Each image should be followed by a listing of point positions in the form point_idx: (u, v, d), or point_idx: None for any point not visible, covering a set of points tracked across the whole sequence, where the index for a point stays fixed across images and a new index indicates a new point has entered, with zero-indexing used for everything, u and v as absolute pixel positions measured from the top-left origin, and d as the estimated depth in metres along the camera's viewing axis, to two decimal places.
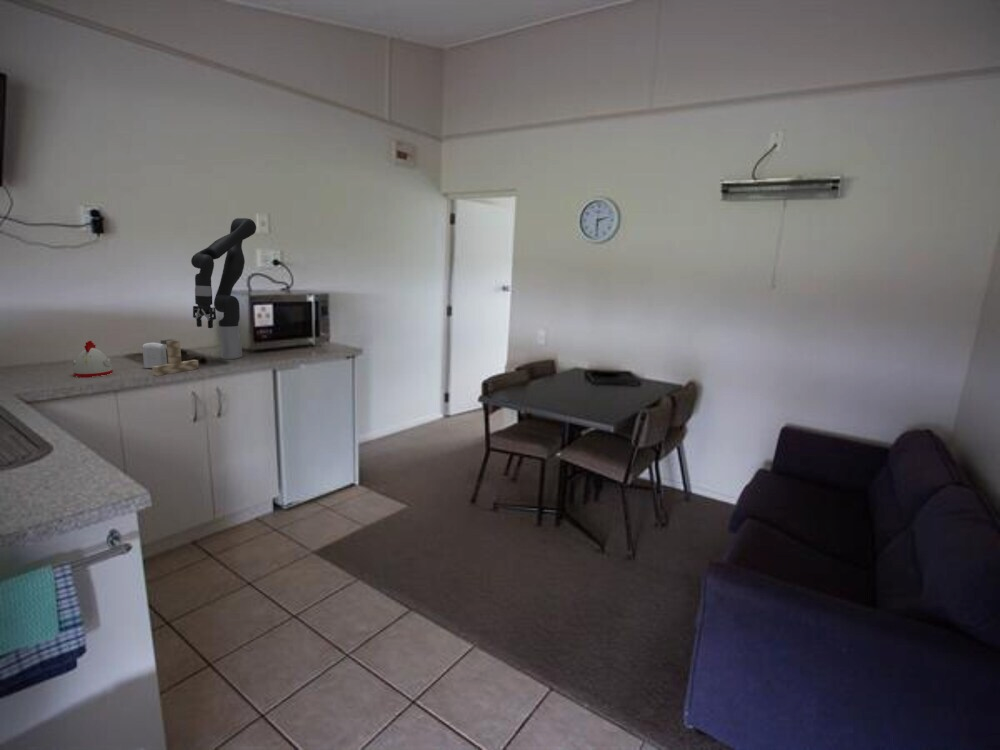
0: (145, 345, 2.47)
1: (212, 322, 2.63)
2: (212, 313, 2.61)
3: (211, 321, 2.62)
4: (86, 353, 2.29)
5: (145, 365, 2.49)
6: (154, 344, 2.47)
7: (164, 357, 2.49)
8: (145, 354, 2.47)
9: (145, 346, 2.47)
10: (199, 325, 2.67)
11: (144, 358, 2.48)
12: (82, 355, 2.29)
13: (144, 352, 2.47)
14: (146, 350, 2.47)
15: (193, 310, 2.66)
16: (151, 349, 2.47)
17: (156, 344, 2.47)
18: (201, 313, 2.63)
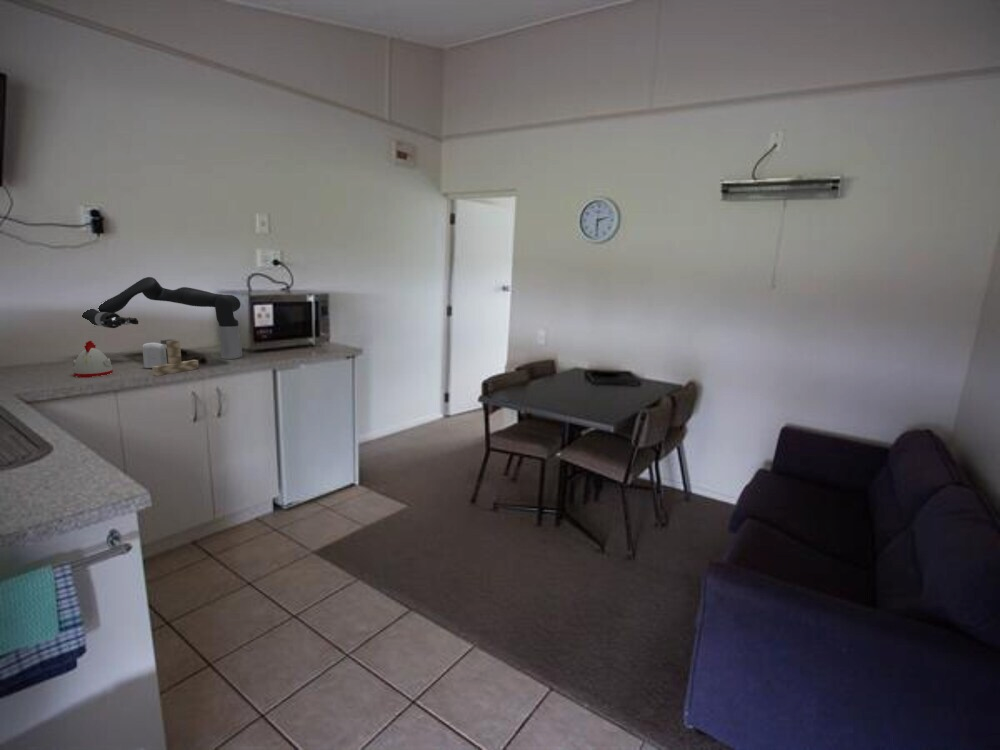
0: (145, 345, 2.47)
1: (114, 322, 2.49)
2: (104, 323, 2.50)
3: (113, 323, 2.50)
4: (86, 353, 2.29)
5: (145, 365, 2.49)
6: (154, 344, 2.47)
7: (164, 357, 2.49)
8: (145, 354, 2.47)
9: (145, 346, 2.47)
10: (135, 322, 2.56)
11: (144, 358, 2.48)
12: (82, 355, 2.29)
13: (144, 352, 2.47)
14: (146, 350, 2.47)
15: None
16: (151, 349, 2.47)
17: (156, 344, 2.47)
18: (120, 323, 2.56)
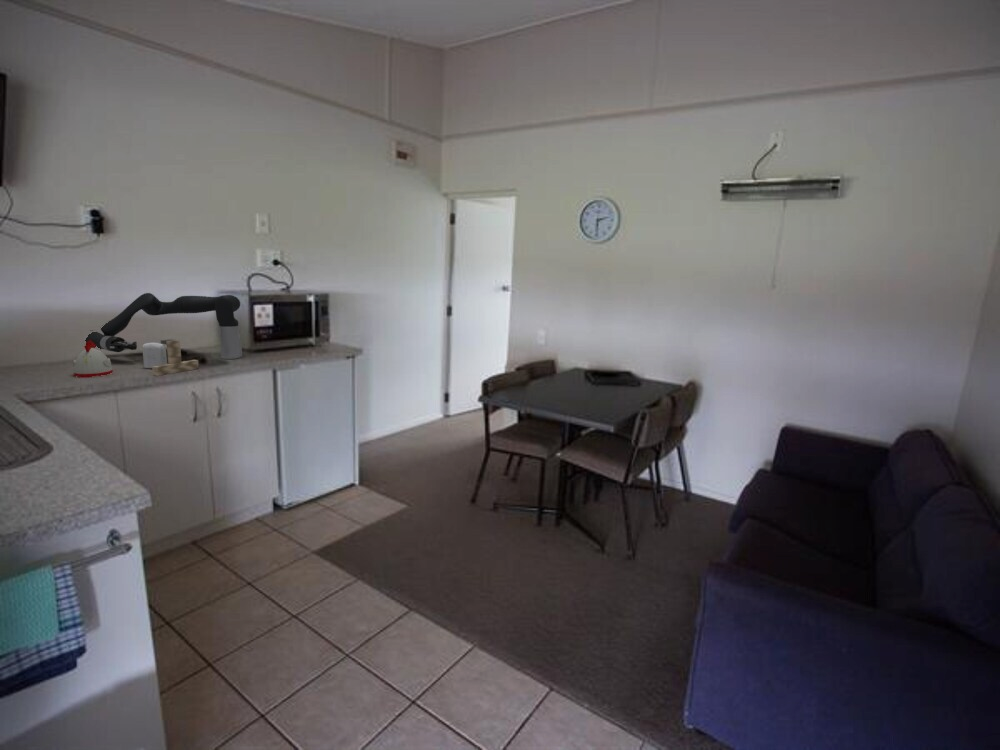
0: (145, 345, 2.47)
1: (127, 346, 2.54)
2: (116, 348, 2.53)
3: (127, 347, 2.55)
4: (86, 353, 2.29)
5: (145, 365, 2.49)
6: (154, 344, 2.47)
7: (164, 357, 2.49)
8: (145, 354, 2.47)
9: (145, 346, 2.47)
10: None
11: (144, 358, 2.48)
12: (82, 355, 2.29)
13: (144, 352, 2.47)
14: (146, 350, 2.47)
15: None
16: (151, 349, 2.47)
17: (156, 344, 2.47)
18: None
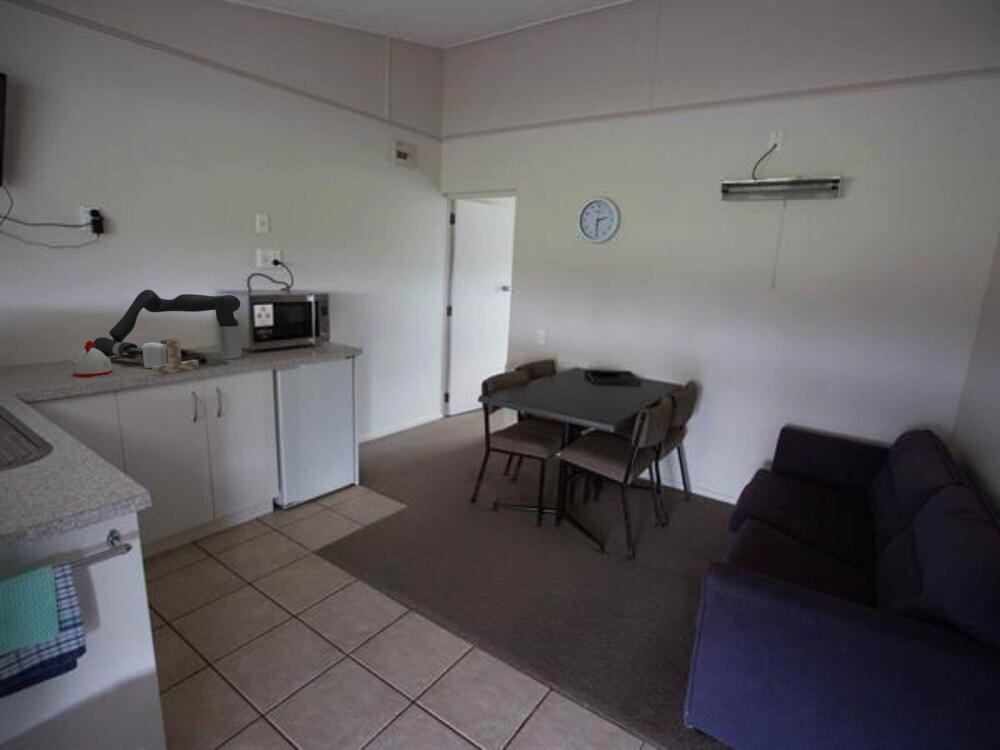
0: (145, 345, 2.47)
1: (141, 352, 2.51)
2: (129, 354, 2.50)
3: (140, 353, 2.51)
4: (86, 353, 2.29)
5: (145, 365, 2.49)
6: (154, 344, 2.47)
7: (164, 357, 2.49)
8: (145, 354, 2.47)
9: (145, 346, 2.47)
10: None
11: (144, 358, 2.48)
12: (82, 355, 2.29)
13: (144, 352, 2.47)
14: (146, 350, 2.47)
15: None
16: (151, 349, 2.47)
17: (156, 344, 2.47)
18: None
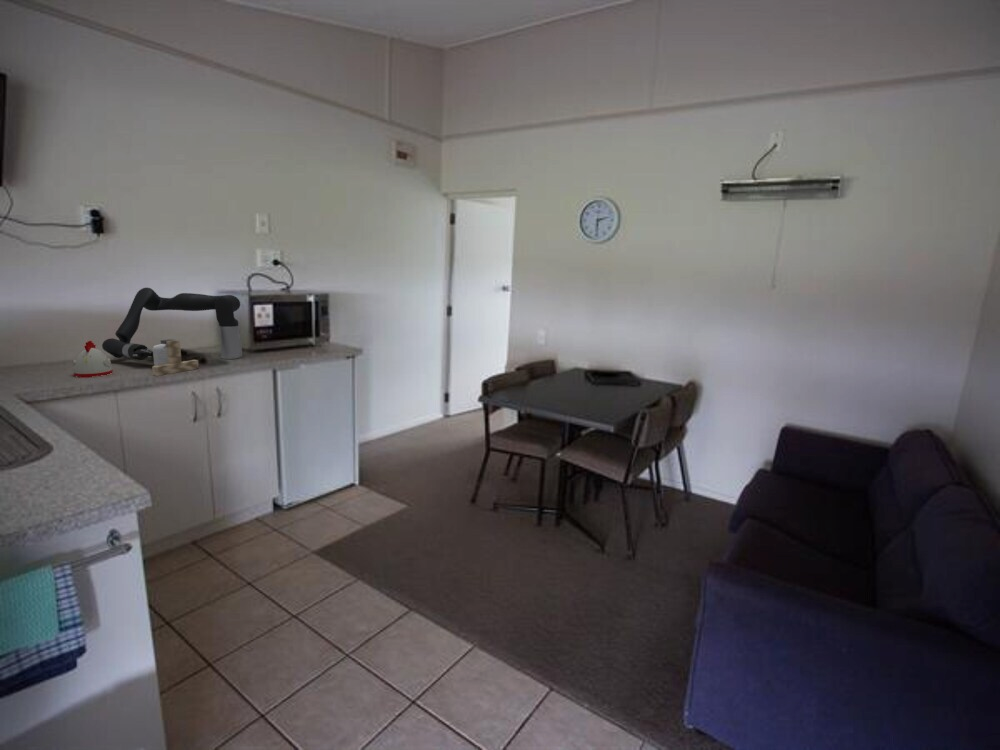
0: (156, 347, 2.44)
1: (151, 354, 2.48)
2: (139, 356, 2.47)
3: (150, 354, 2.48)
4: (86, 353, 2.29)
5: None
6: (165, 346, 2.44)
7: None
8: (156, 356, 2.44)
9: (156, 348, 2.44)
10: None
11: (155, 360, 2.45)
12: (82, 355, 2.29)
13: (155, 354, 2.44)
14: (157, 352, 2.44)
15: None
16: (162, 351, 2.43)
17: None
18: None
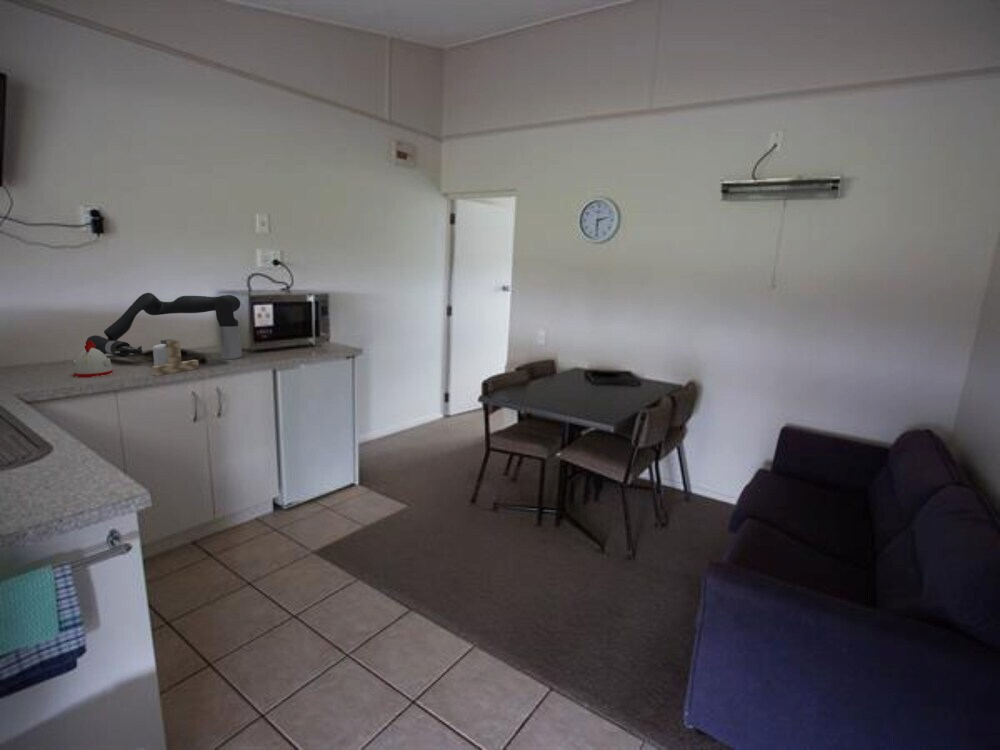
0: (156, 347, 2.44)
1: (133, 351, 2.53)
2: (121, 353, 2.52)
3: (132, 351, 2.54)
4: (86, 353, 2.29)
5: None
6: (165, 346, 2.44)
7: None
8: (156, 356, 2.44)
9: (156, 348, 2.44)
10: None
11: (155, 360, 2.45)
12: (82, 355, 2.29)
13: (155, 354, 2.44)
14: (157, 352, 2.44)
15: None
16: (162, 351, 2.43)
17: None
18: None
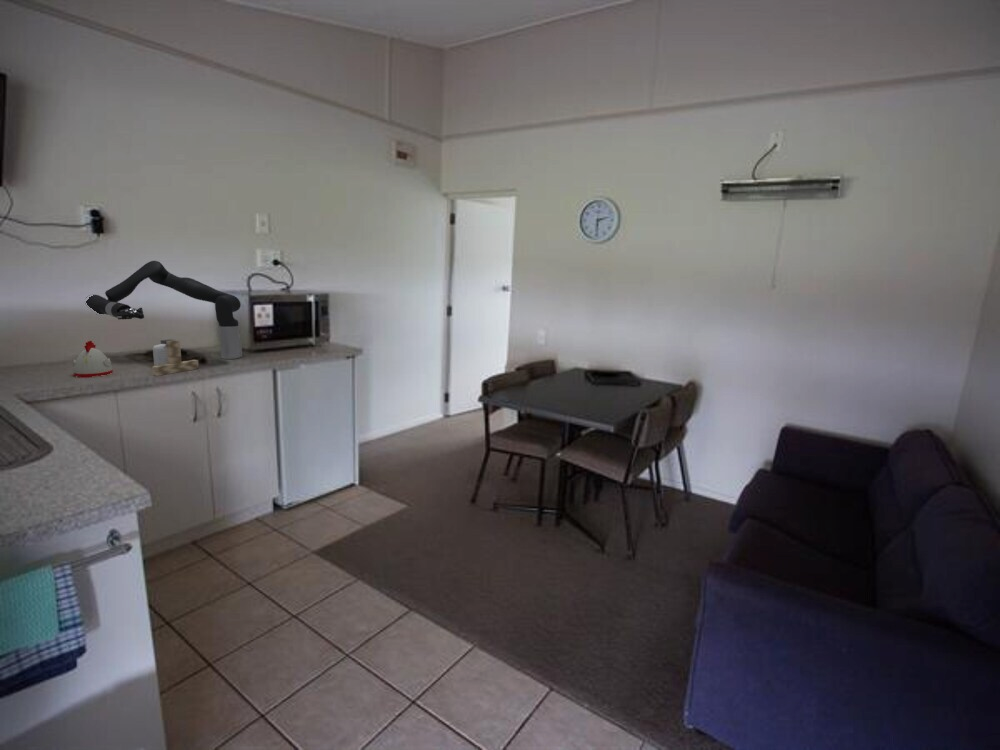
0: (156, 347, 2.44)
1: (135, 315, 2.54)
2: (124, 317, 2.53)
3: (134, 316, 2.54)
4: (86, 353, 2.29)
5: None
6: (165, 346, 2.44)
7: None
8: (156, 356, 2.44)
9: (156, 348, 2.44)
10: None
11: (155, 360, 2.45)
12: (82, 355, 2.29)
13: (155, 354, 2.44)
14: (157, 352, 2.44)
15: (142, 313, 2.61)
16: (162, 351, 2.43)
17: None
18: None
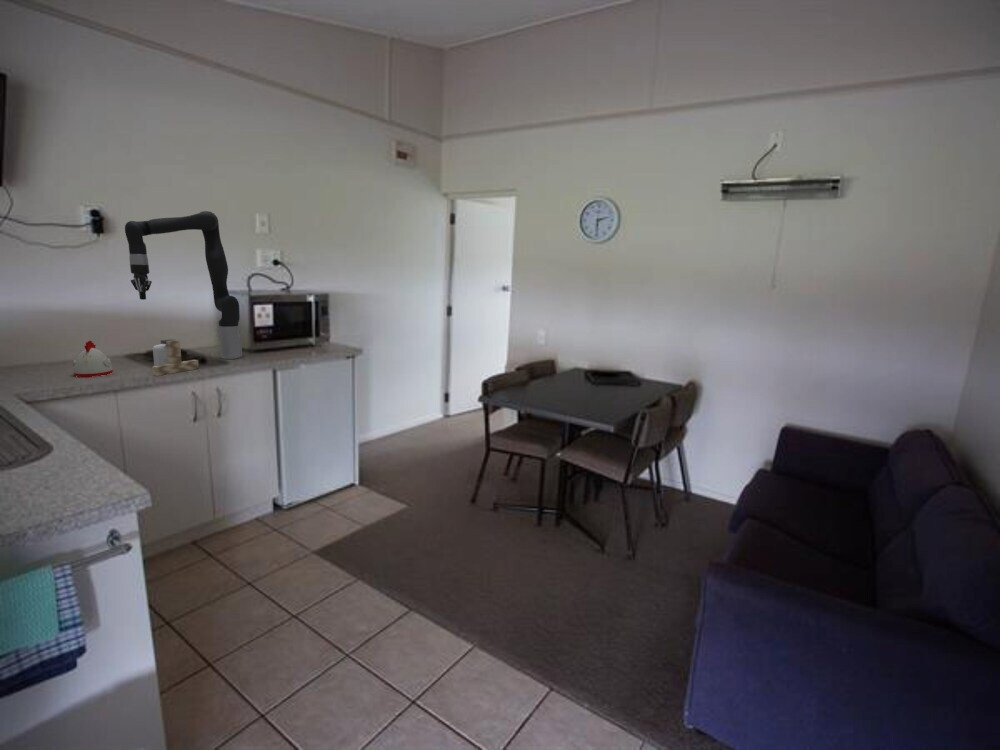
0: (156, 347, 2.44)
1: None
2: None
3: None
4: (86, 353, 2.29)
5: None
6: (165, 346, 2.44)
7: None
8: (156, 356, 2.44)
9: (156, 348, 2.44)
10: None
11: (155, 360, 2.45)
12: (82, 355, 2.29)
13: (155, 354, 2.44)
14: (157, 352, 2.44)
15: None
16: (162, 351, 2.43)
17: None
18: None
